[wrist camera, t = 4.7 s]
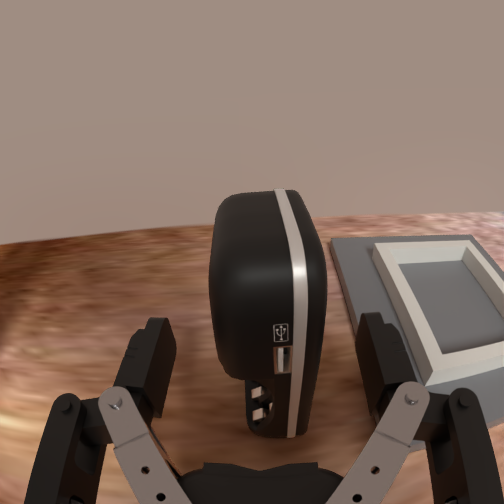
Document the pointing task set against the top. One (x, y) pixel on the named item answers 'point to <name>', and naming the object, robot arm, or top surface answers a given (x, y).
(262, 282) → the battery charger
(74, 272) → the top surface
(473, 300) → the holder
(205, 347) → the top surface
